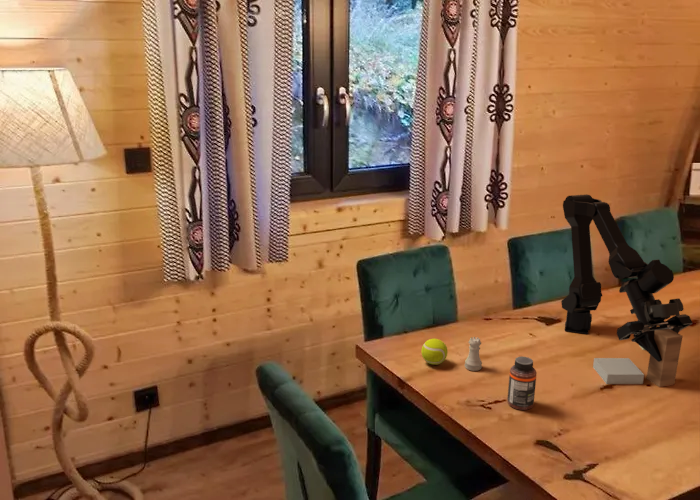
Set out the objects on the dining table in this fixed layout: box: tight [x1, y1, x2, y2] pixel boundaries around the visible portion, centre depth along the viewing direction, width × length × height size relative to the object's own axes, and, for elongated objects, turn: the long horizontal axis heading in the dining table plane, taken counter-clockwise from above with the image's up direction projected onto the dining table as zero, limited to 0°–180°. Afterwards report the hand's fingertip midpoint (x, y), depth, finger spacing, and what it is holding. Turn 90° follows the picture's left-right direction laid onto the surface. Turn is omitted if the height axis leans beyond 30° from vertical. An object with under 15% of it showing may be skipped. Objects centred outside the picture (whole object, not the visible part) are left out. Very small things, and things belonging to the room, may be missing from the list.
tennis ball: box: [421, 338, 448, 366], centre depth 176 cm, size 7×7×7 cm
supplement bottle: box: [507, 355, 537, 411], centre depth 155 cm, size 6×6×11 cm
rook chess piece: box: [464, 336, 483, 372], centre depth 173 cm, size 4×4×8 cm
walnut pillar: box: [645, 329, 684, 388], centre depth 167 cm, size 4×4×13 cm
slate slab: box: [592, 357, 645, 385], centre depth 171 cm, size 9×9×3 cm
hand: (668, 359), depth 165 cm, fingers closed on walnut pillar, 4 cm apart
